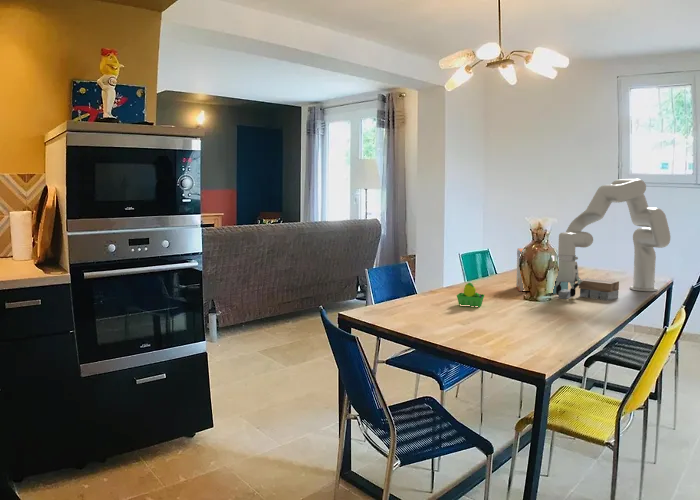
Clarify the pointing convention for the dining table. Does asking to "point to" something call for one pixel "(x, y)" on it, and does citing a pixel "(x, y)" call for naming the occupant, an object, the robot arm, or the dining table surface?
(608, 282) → the board
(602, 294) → the bar
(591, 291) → the bar
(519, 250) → the cracker box
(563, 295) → the bar
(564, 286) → the block
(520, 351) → the dining table surface
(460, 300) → the fruit basket
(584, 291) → the bar
